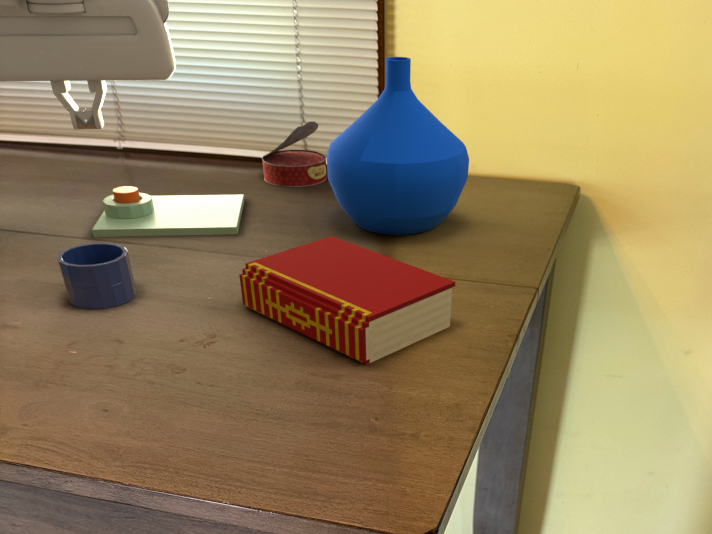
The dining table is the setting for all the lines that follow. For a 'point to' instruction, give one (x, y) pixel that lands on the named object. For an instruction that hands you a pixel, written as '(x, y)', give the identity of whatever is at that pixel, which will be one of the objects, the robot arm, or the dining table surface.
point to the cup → (97, 275)
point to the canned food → (295, 162)
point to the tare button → (126, 194)
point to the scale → (171, 216)
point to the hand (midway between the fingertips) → (89, 128)
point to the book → (348, 297)
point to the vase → (397, 162)
